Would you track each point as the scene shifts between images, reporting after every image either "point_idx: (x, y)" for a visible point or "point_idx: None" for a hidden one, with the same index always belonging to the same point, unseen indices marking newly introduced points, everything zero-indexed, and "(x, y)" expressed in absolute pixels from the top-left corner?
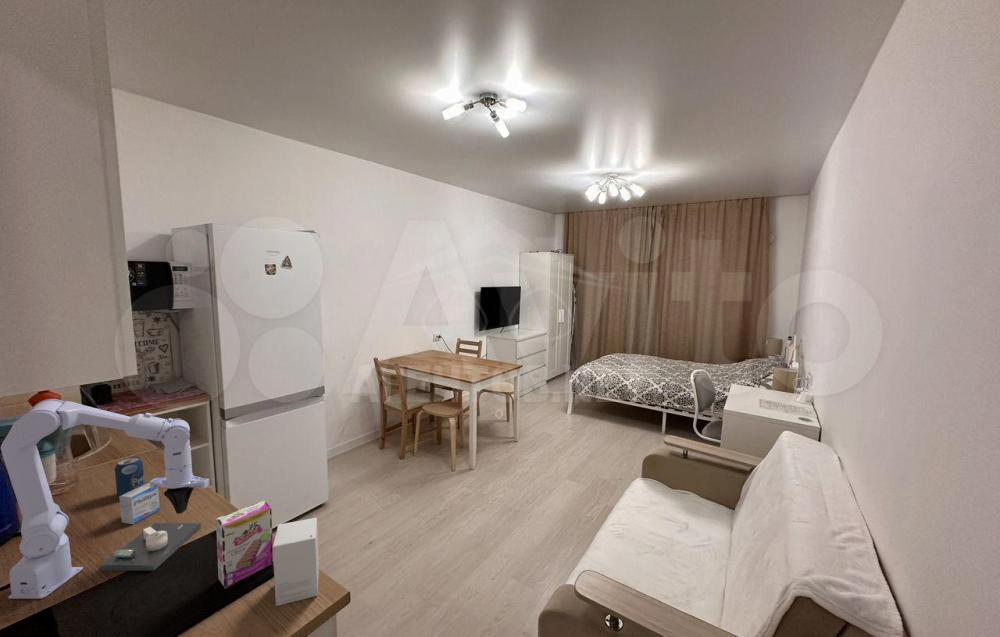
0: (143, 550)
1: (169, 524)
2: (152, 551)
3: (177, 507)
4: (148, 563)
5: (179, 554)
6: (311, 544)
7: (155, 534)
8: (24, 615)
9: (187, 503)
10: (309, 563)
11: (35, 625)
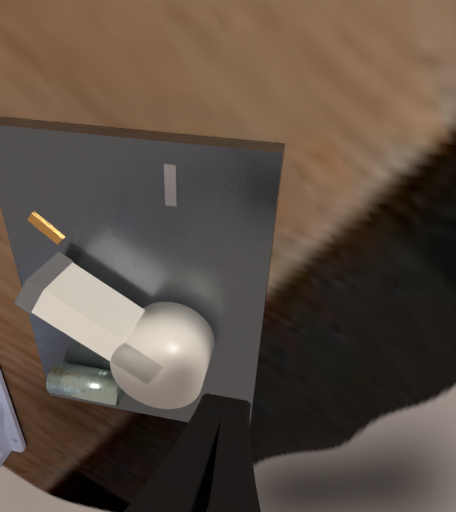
0: None
1: (81, 149)
2: None
3: (207, 508)
4: None
5: (296, 348)
6: None
7: (138, 363)
8: (44, 477)
9: (251, 453)
10: None
11: (101, 506)
